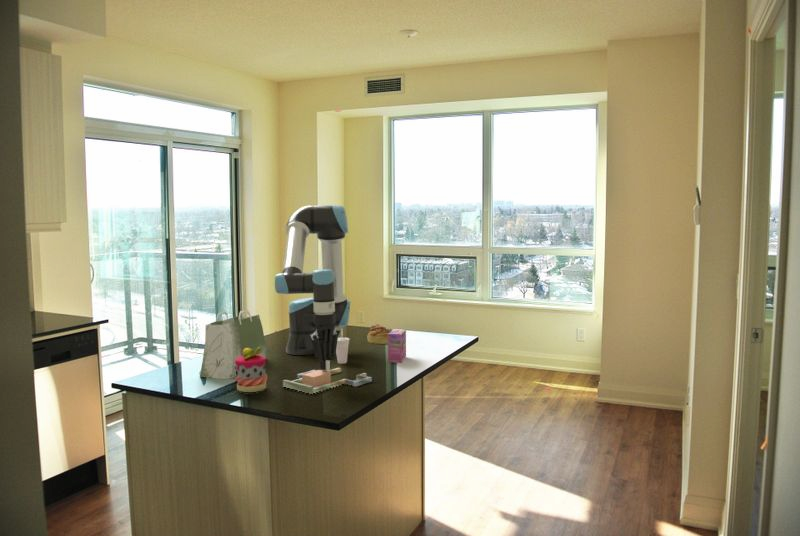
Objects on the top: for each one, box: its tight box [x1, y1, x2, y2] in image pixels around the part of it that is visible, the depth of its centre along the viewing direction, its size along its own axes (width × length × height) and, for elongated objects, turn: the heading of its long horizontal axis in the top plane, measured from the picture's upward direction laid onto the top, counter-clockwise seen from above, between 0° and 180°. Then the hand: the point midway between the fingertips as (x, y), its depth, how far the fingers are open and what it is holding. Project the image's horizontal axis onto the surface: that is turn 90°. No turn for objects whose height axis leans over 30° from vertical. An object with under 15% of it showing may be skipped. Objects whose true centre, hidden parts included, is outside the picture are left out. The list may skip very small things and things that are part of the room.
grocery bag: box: [199, 309, 267, 379], centre depth 241 cm, size 32×14×23 cm, turn 169°
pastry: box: [366, 323, 391, 345], centre depth 290 cm, size 13×15×8 cm
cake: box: [234, 347, 268, 393], centre depth 211 cm, size 10×11×15 cm
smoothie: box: [335, 327, 350, 365], centre depth 248 cm, size 6×6×14 cm
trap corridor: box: [282, 367, 373, 395], centre depth 219 cm, size 27×25×2 cm
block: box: [301, 369, 332, 388], centre depth 215 cm, size 6×8×4 cm
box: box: [387, 328, 407, 364], centre depth 251 cm, size 10×6×12 cm, turn 168°
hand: (326, 378), depth 219 cm, fingers closed
